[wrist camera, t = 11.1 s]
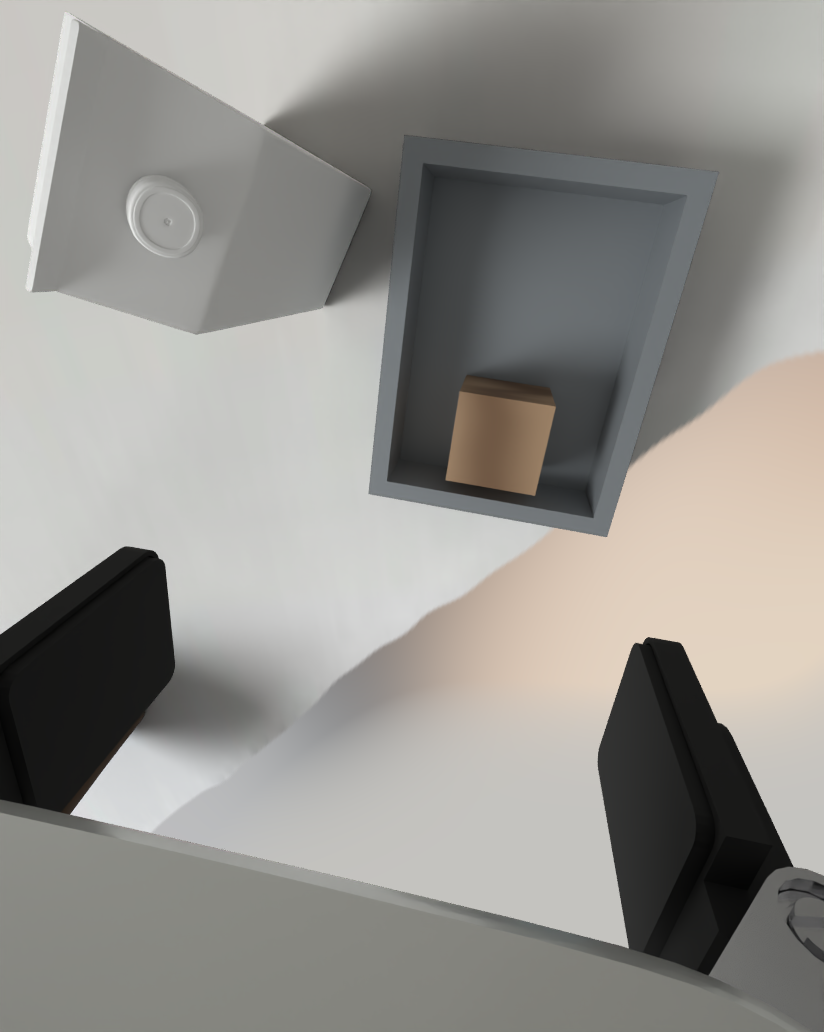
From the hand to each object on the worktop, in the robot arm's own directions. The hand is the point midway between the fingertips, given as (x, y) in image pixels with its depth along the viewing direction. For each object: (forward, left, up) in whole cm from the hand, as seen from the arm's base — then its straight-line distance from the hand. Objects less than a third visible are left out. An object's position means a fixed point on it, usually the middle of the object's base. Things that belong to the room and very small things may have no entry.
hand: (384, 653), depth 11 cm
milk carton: (+12, -8, -26) cm, 30 cm away
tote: (-2, -3, -26) cm, 27 cm away
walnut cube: (-2, +1, -26) cm, 26 cm away
